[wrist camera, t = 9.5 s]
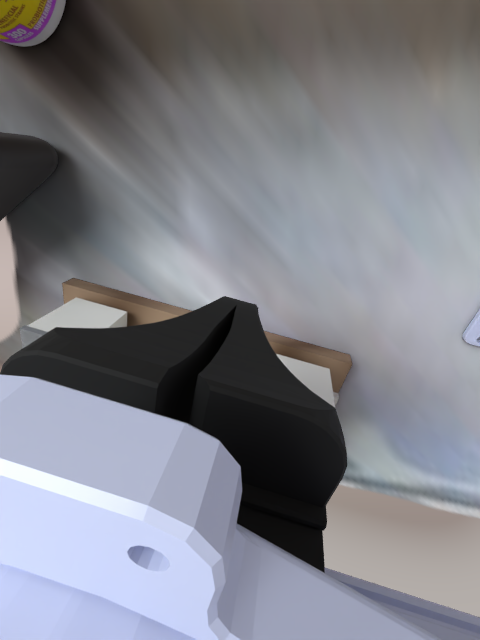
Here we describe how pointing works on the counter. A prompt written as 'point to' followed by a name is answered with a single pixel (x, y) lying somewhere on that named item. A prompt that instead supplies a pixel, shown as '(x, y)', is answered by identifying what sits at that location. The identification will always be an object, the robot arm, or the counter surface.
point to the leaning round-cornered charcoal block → (22, 168)
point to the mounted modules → (102, 316)
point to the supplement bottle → (29, 20)
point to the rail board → (156, 311)
